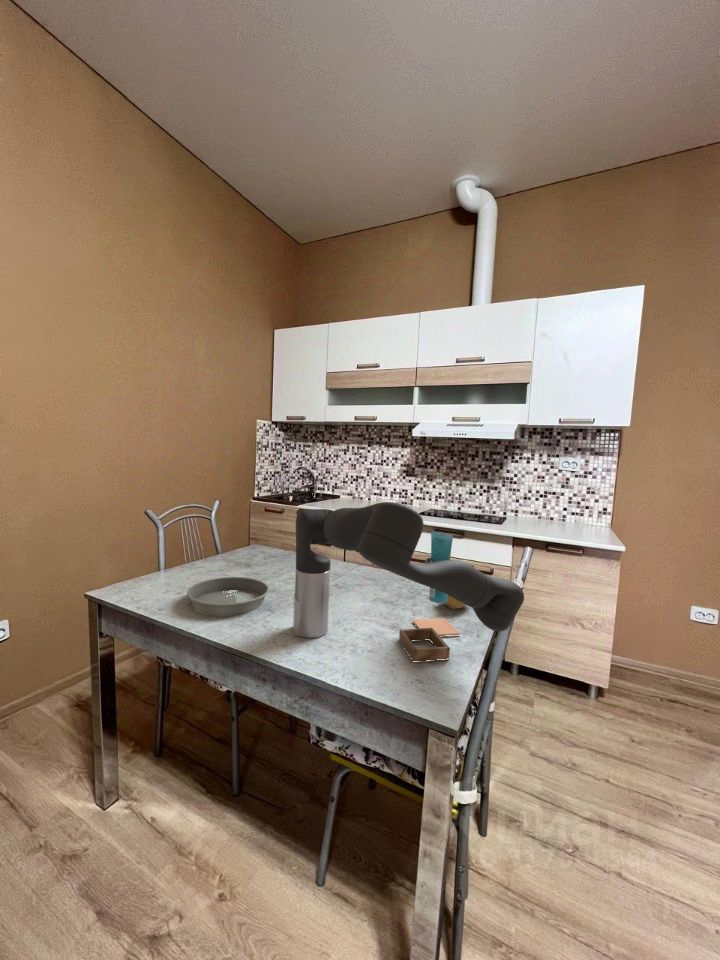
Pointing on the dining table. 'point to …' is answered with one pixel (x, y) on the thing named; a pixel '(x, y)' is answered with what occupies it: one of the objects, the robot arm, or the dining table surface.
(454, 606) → the potato
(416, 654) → the wooden tray
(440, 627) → the coaster
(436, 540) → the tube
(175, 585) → the dining table surface
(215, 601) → the cake pan
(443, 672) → the dining table surface
